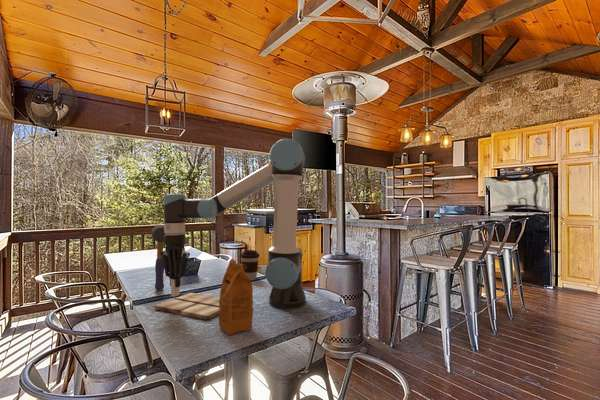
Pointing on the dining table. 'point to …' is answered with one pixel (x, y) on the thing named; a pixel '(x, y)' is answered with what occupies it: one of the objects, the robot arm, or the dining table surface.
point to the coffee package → (235, 300)
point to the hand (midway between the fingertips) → (175, 295)
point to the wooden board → (200, 299)
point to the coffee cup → (250, 263)
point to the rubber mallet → (159, 255)
